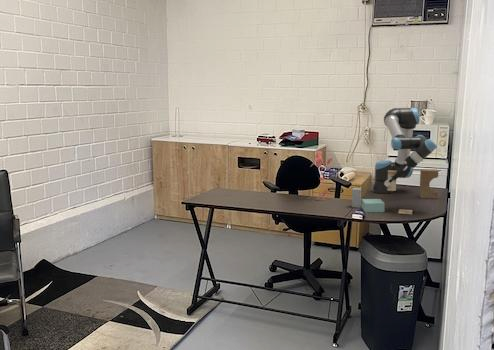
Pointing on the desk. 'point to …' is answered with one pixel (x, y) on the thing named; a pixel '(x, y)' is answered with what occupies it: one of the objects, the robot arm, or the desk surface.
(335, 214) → the desk surface
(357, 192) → the slate-grey pillar
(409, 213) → the maple swatch tile
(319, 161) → the figurine
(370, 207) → the teal base block
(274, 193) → the desk surface
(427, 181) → the decorative block
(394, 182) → the maple pillar
